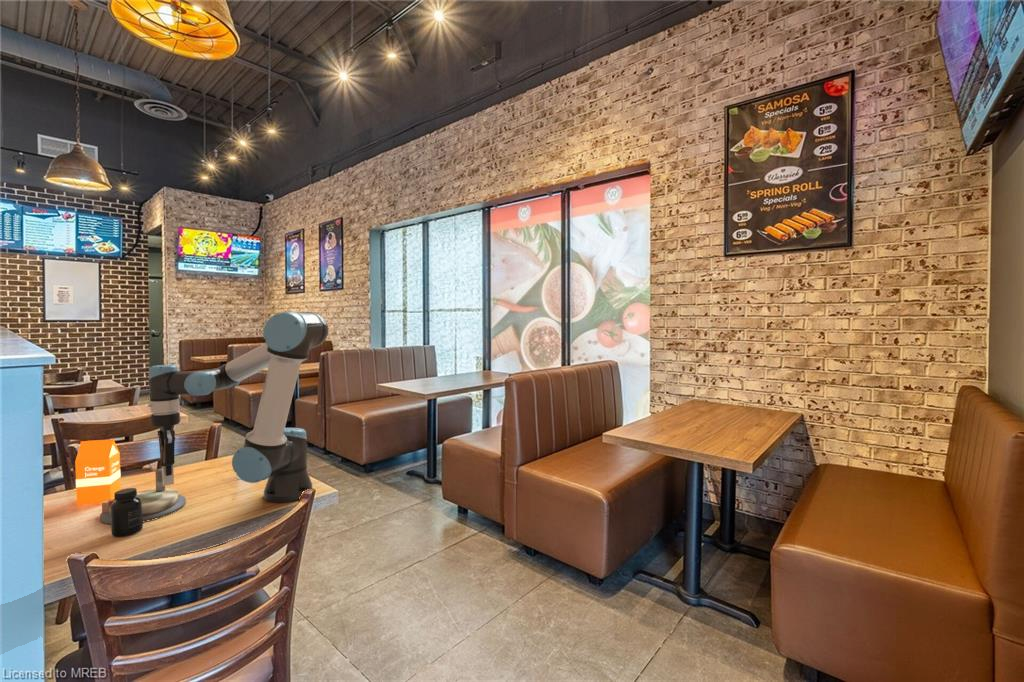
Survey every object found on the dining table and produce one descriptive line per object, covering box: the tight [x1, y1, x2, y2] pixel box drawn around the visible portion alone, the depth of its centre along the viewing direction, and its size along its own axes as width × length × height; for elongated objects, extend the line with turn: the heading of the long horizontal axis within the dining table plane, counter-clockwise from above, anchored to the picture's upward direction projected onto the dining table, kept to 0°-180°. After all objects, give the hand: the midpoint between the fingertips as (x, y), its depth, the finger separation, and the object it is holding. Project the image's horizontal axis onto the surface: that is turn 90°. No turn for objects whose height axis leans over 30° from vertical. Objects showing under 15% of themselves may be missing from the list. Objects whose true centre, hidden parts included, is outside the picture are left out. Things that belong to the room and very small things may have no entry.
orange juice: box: [74, 438, 122, 506], centre depth 150 cm, size 8×9×20 cm
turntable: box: [108, 468, 179, 516], centre depth 142 cm, size 17×17×9 cm
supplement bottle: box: [110, 487, 144, 538], centre depth 128 cm, size 7×7×12 cm
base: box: [99, 494, 187, 526], centre depth 142 cm, size 21×21×4 cm
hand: (168, 484), depth 147 cm, fingers closed
